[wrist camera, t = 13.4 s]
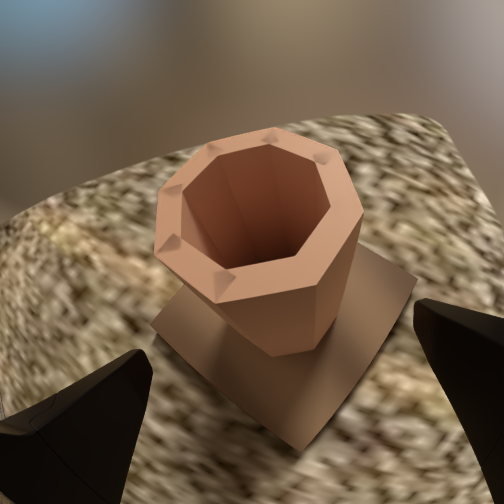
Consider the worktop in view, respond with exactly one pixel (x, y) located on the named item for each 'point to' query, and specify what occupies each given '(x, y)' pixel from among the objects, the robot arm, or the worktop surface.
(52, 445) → the robot arm
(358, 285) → the post stand
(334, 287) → the terracotta collar
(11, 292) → the worktop surface
